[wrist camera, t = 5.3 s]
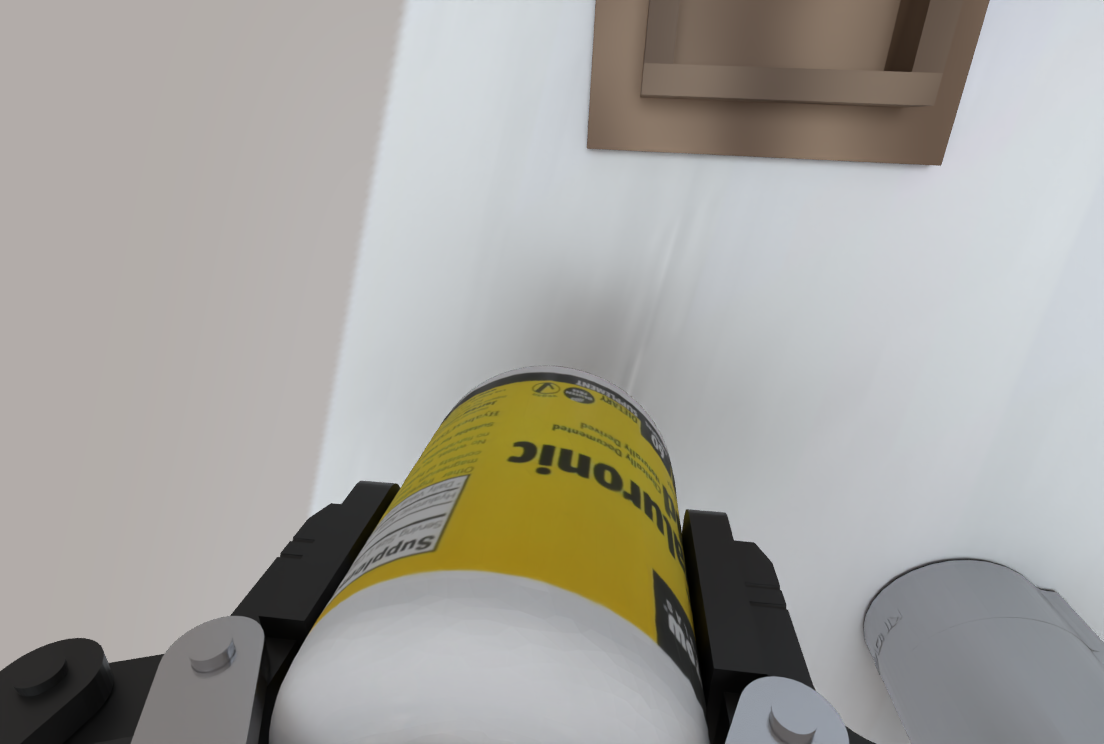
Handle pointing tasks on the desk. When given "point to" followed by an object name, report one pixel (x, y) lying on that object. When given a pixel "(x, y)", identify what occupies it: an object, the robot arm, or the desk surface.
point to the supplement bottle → (514, 587)
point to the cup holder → (782, 77)
